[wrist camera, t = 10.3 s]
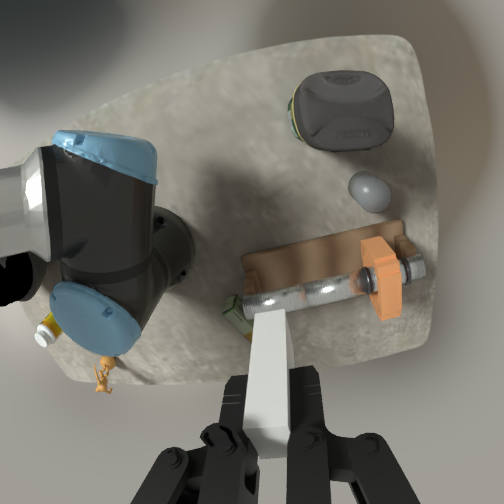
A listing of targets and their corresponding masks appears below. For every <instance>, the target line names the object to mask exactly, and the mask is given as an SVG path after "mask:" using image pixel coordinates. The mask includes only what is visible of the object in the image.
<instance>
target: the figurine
mask: <svg viewBox="0 0 504 504" xmlns="http://www.w3.org/2000/svg"><path fill="white" fill-rule="evenodd" d="M100 363H101V366H102V367H103V368H104V369H102V370H100V371H99V374H100V378H102V379H101V380H99V377H98V375H97V371H96V369H95V365H94V371H95V375H96V379H97V381H98V387H97V388H96V392H101V391H103V392H107V393H108V394H111V391H112V388H110V391H107V383H108V381H107V378H106V376H108V375H109V370H111V369H113V368H114V367H115V364H116V362H115V359H114V357H108V356H102V357H101V360H100ZM105 370H107V373H106V374H105V375H104V374H103V373H102V372H104V371H105Z"/></svg>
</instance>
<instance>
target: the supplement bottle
mask: <svg viewBox="0 0 504 504" xmlns="http://www.w3.org/2000/svg"><path fill="white" fill-rule="evenodd" d="M37 330H38V331H37V333H36V334H35V339H36V340H37V342H38V343H39V344H40V345H41V346H43V347H47V346H48V345H49V344H53V343H55V341H56V340H57V339H58V338H59V337H60V335H61V334H62V333H63V332H64V331H63V330H62V329H61V328H60V326H59V325H58V324H57V322H56V321H55V319H54V317H53V315H52V312H50V313H49V315H48V316H47V317H46V318H45V319H44V320H43V321H42V322H41V323H40V324H39V326H38V328H37Z"/></svg>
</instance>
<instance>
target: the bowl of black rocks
mask: <svg viewBox="0 0 504 504" xmlns="http://www.w3.org/2000/svg"><path fill="white" fill-rule="evenodd" d="M45 270H46V261H45V260H43V259H42V258H40V257H39V256H38V255H36V254H35V253H33V252H30V251H26V252H22V253H18V254H14V255H10V256H7V257H3V258H0V307H1V306H7V305H8V304H10V303H13V302H15V301H28V300H30V299H31V298H32V297H33V296H34V295H35V294H36V292H37V291H38V289H39V287H40V285H41V283H42V281H43V278H44V275H45Z"/></svg>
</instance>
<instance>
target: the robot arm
mask: <svg viewBox="0 0 504 504" xmlns="http://www.w3.org/2000/svg"><path fill="white" fill-rule="evenodd" d="M52 143H53V145H52V146H44V147H37V148H36V149H35V150H34V151H33V152H32V153H31V155H30V156H29V157H28V158H27V160H26V161H25V162H24V163H23V164H21V165H19V166H13V167H8V168H3V169H0V258H3V257H7V256H10V255H14V254H18V253H22V252H26V251H30V252H33V253H35V254H36V255H38V256H39V257H40V258H42V259H43V260H45V261H46V262H50V261H54V260H58V259H60V266H61V272H62V281H61V282H59V283H58V284H56V285H55V286H54V289H53V291H52V293H51V294H50V299H49V303H50V309H51V312H52V315H53V317H54V319H55V321H56V322H57V324H58V325H59V326H60V328H61V329H62V330H63V331H64V332H65V334H66V335H67V336H69V337H70V338H71V339H72V340H73V341H74V342H76V343H77V344H78V345H80V346H81V347H83V348H85V349H87V350H88V351H91V352H93V353H95V354H99V355H102V356H108V357H115V356H119V355H121V354H125V353H127V352H128V351H129V350H130V349H131V347H132V346H133V345H134V344H135V342H136V341H137V340H138V339H139V338H140V336H141V332H142V330H143V329H144V327H145V325H146V323H147V322H148V320H149V318H150V316H151V314H152V313H153V311H154V309H155V307H156V306H157V304H158V302H159V301H160V299H161V297H162V295H163V294H164V293H165V292H167V291H169V290H170V289H172V288H174V287H176V286H177V285H179V284H180V283H181V282H182V281H183V280H184V279H185V277H186V276H187V274H188V272H189V271H190V269H191V267H192V264H193V261H194V253H195V251H194V243H193V240H192V237H191V234H190V232H189V230H188V229H187V227H186V226H185V224H184V223H183V222H182V221H181V220H180V219H179V218H178V217H177V216H176V215H174V214H173V213H171V212H170V211H168V210H166V209H164V208H161V207H157V206H154V204H155V190H156V185H157V184H158V181H157V179H156V169H157V151H156V149H155V147H154V146H153V144H152V143H150V142H149V141H147V140H144V139H140V138H135V137H130V136H124V135H117V134H110V133H102V132H92V131H79V130H59V131H57V132H56V133H55V135H54V138H53V139H52ZM200 438H201V440H202V441H203V442H204V443H205V444H206V446H204V447H201V448H198V449H194V450H189V451H184V450H183V449H181V448H178V447H171V448H167V449H165V450H164V451H162V452H161V454H160V455H159V456H158V458H157V459H156V461H155V463H154V464H153V466H152V468H151V470H150V471H149V473H148V475H147V476H146V478H145V480H144V482H143V483H142V485H141V487H140V488H139V490H138V492H137V493H136V495H135V497H134V498H133V500H132V502H131V504H258V490H259V476H260V470H259V466H258V465H257V460H258V456H259V457H260V459H268V458H269V459H270V458H283V457H287V495H286V497H287V498H286V504H331V489H330V480H332V481H339V482H348V483H349V485H350V488H351V490H352V492H353V495H354V497H355V499H356V502H357V504H420V502H419V500H418V498H417V496H416V494H415V493H414V491H413V489H412V488H411V485H410V483H409V482H408V480H407V478H406V476H405V475H404V473H403V471H402V469H401V467H400V465H399V464H398V462H397V460H396V458H395V456H394V455H393V453H392V451H391V449H390V448H389V446H388V444H387V442H386V441H385V440H384V438H383V437H382V436H380V435H378V434H376V433H365V434H361V435H359V436H357V437H356V438H346V437H340V436H336V435H334V434H332V433H331V432H329V431H328V429H327V428H326V426H325V421H324V413H323V403H322V395H321V387H320V380H319V373H318V372H317V371H316V369H315V368H314V367H313V365H311V366H305V367H299V368H295V366H294V348H293V344H292V339H291V334H290V330H289V326H288V321H287V317H286V312H285V309H281V310H275V311H269V312H263V313H256V314H255V317H254V327H253V336H252V346H251V355H250V365H249V374H248V375H239V376H231V378H230V379H229V381H228V382H227V384H226V385H225V390H224V397H223V402H222V407H221V413H220V419H219V423H213V424H211V425H209V426H207V427H206V428H205V429H204V430H203V431H202V433H201V435H200Z"/></svg>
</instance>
